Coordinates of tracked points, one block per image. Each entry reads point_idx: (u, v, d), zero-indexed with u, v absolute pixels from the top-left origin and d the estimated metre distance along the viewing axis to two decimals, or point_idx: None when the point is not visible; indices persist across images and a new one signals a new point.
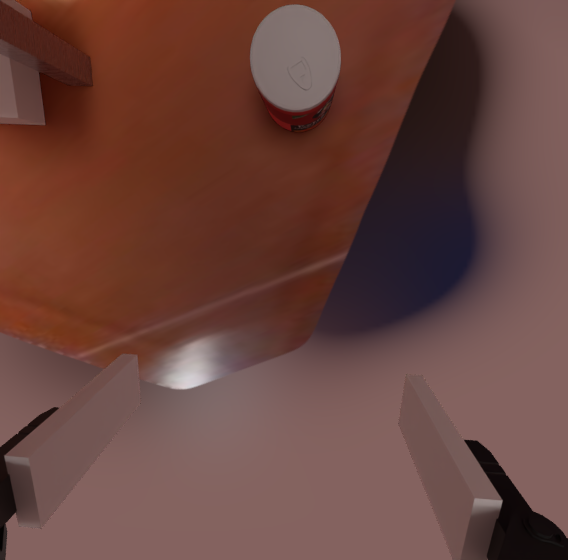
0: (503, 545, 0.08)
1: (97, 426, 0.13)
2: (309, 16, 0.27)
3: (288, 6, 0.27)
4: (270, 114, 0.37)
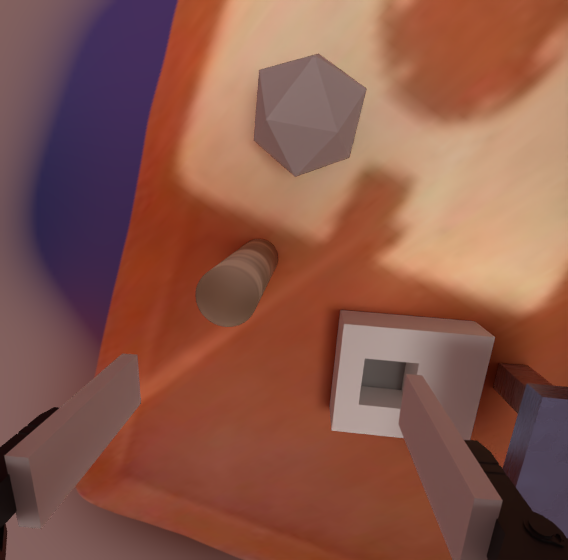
0: (503, 545, 0.08)
1: (97, 426, 0.13)
2: None
3: None
4: None
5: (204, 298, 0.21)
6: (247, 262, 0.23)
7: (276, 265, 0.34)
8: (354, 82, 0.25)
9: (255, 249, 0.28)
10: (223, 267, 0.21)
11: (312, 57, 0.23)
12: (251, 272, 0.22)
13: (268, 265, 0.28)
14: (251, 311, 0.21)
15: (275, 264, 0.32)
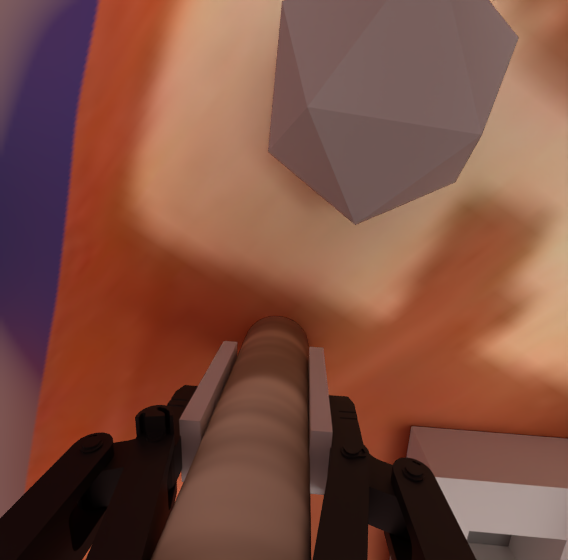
0: (328, 473, 0.10)
1: None
2: None
3: None
4: None
5: None
6: (272, 466, 0.09)
7: None
8: (501, 20, 0.11)
9: (278, 371, 0.14)
10: None
11: None
12: (288, 529, 0.08)
13: (306, 408, 0.13)
14: None
15: None
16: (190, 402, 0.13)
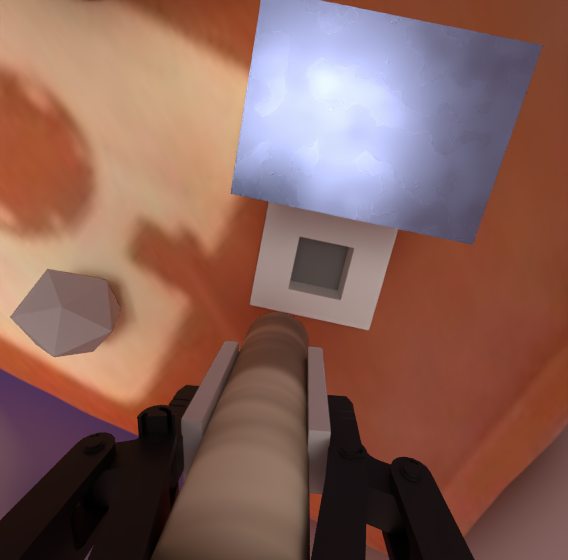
0: (326, 473, 0.10)
1: None
2: None
3: None
4: None
5: None
6: (273, 446, 0.10)
7: None
8: (39, 280, 0.32)
9: (279, 362, 0.15)
10: (218, 523, 0.08)
11: None
12: (288, 499, 0.09)
13: (305, 397, 0.14)
14: None
15: None
16: (192, 402, 0.13)
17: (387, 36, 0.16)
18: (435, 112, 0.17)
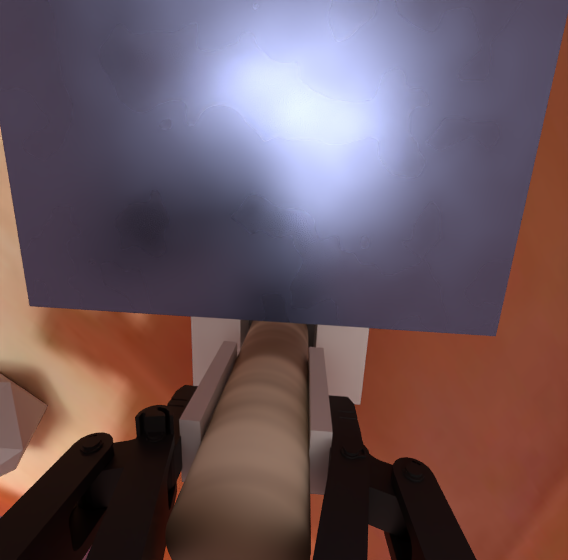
0: (328, 473, 0.10)
1: None
2: None
3: None
4: None
5: (186, 544, 0.09)
6: (277, 422, 0.11)
7: None
8: None
9: (281, 351, 0.16)
10: (229, 483, 0.09)
11: None
12: (291, 467, 0.10)
13: (306, 383, 0.15)
14: None
15: None
16: (190, 402, 0.13)
17: None
18: (376, 94, 0.08)
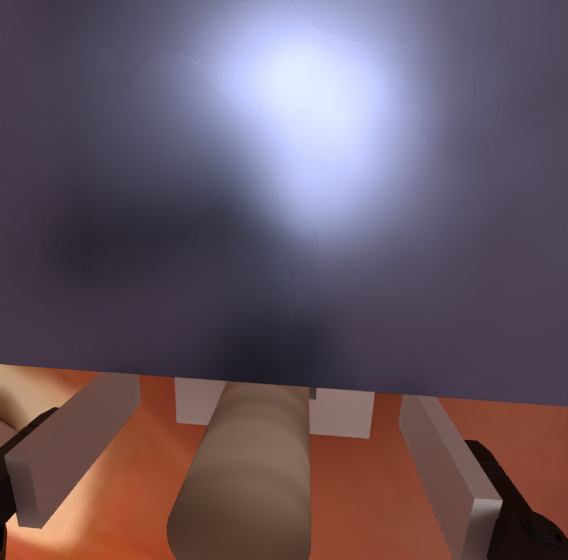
0: (503, 545, 0.08)
1: (97, 426, 0.13)
2: None
3: None
4: None
5: (187, 539, 0.09)
6: (278, 419, 0.11)
7: None
8: None
9: None
10: (231, 478, 0.09)
11: None
12: (291, 463, 0.10)
13: None
14: None
15: None
16: (33, 432, 0.11)
17: None
18: (422, 33, 0.05)
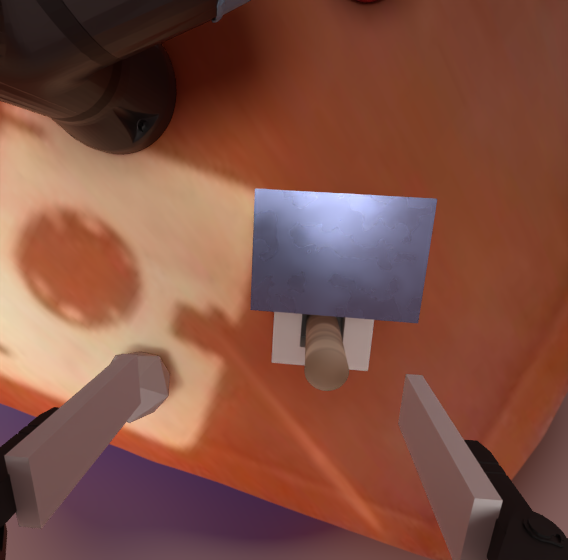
0: (503, 545, 0.08)
1: (97, 426, 0.13)
2: None
3: None
4: None
5: (310, 371, 0.30)
6: (335, 340, 0.32)
7: None
8: None
9: (329, 322, 0.37)
10: (325, 350, 0.30)
11: None
12: (341, 351, 0.31)
13: (340, 335, 0.36)
14: (344, 380, 0.30)
15: None
16: (33, 432, 0.11)
17: (337, 205, 0.26)
18: (376, 245, 0.26)
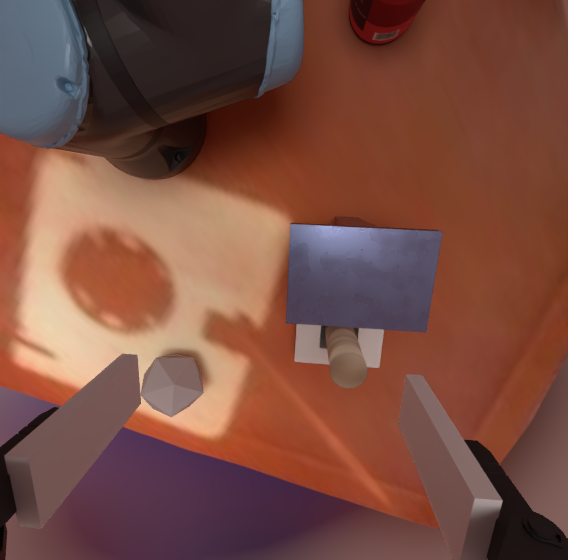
0: (503, 545, 0.08)
1: (97, 426, 0.13)
2: None
3: None
4: (403, 30, 0.38)
5: (335, 372, 0.36)
6: (354, 345, 0.38)
7: None
8: (153, 367, 0.47)
9: (347, 327, 0.43)
10: (348, 354, 0.35)
11: (141, 395, 0.46)
12: (361, 354, 0.36)
13: None
14: (363, 379, 0.36)
15: None
16: (33, 432, 0.11)
17: (359, 237, 0.31)
18: (392, 269, 0.32)
